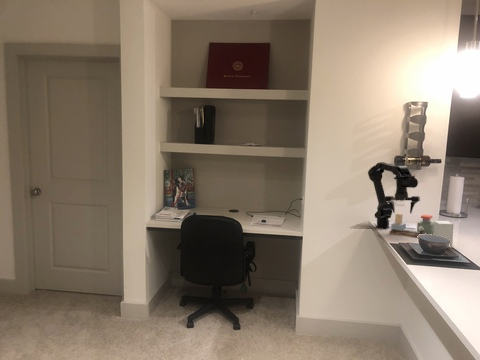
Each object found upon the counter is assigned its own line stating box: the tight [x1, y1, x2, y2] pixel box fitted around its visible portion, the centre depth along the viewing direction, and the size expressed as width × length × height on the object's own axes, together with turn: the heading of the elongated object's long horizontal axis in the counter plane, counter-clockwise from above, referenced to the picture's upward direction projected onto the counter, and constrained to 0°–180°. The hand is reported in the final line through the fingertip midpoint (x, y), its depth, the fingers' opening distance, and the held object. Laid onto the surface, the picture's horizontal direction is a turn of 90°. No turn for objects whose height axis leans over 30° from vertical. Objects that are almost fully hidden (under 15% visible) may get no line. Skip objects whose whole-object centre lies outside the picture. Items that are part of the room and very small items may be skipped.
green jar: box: [416, 220, 434, 235], centre depth 223 cm, size 8×7×6 cm
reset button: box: [420, 214, 433, 224], centre depth 222 cm, size 5×5×6 cm
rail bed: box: [389, 229, 426, 239], centre depth 219 cm, size 18×7×4 cm, turn 46°
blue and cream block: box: [390, 212, 407, 230], centre depth 222 cm, size 6×7×9 cm
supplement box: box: [433, 220, 454, 247], centre depth 196 cm, size 7×7×13 cm
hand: (402, 213), depth 219 cm, fingers open, 9 cm apart
